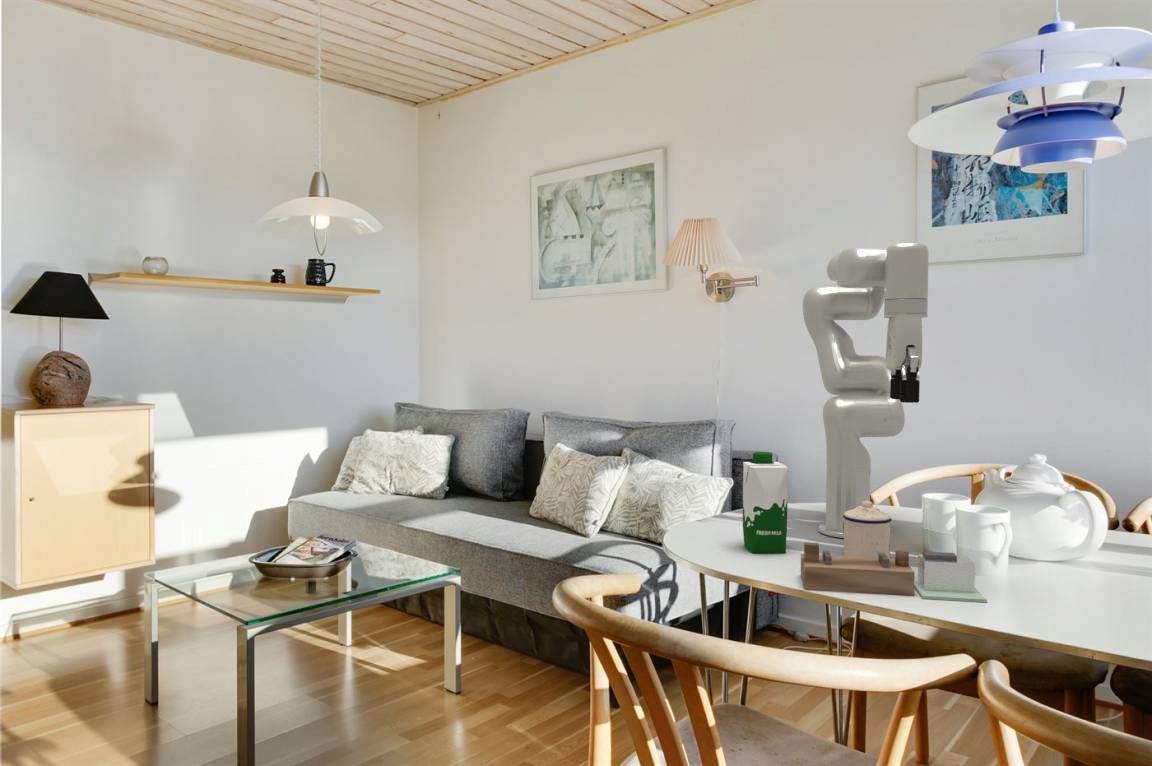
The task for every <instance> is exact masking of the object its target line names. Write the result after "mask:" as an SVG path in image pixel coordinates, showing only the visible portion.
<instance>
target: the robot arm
mask: <svg viewBox="0 0 1152 766" xmlns="http://www.w3.org/2000/svg"><path fill="white" fill-rule="evenodd" d="M929 256H930V255H929V249H928V246H927V245H926V244H924V243H922V242H899V243H894V244H891V245H889V246H887V247H853V248H846V249H843V250H841V251H840V252H837V253H836V254H834V255H833V256H832V257H831V259H830V260H829V261H828V264H827V267H826V272H827V273H826V275H827V276H828V278H829V280H830V281H831V282H832V283H833V284H823V285H818V286H814V287H812V288H810V289H808V290H807V291H806V292H805V294H804V296H803V300H802V315H803V320H804V323H805V324H804V325H805V327H806V330H807V331H808V334H809V336H810V338H811V339H812V341H813V343H814V346H815V349H816V354H817V357H818V358H817V359H818V365H819V369H820V374H821V379H822V382H823V386H824V388H825V390H826V392H828V393H829V394H831V395H832V396H833V397H831V398H828V399H827V401H826V402H824V404H823V407H822V419H823V421H822V422H823V425H824V433H825V443H826V444H825V446H826V448H825V449H826V482H825V483H826V484H825V485H826V489H825V490H826V491H825V492H826V493H825V494H826V497H825V498H826V499H825V503H826V504H825V522H823V523H821V524H819V526H818V531H819V533H821V534H823V535H825V536H829V537H834V538H840V539H844V535H843V532H842V522H843V520H844V518H843V515H844V513H845V512H846V511H848V510H853V509H855V508H856V507H858V506H862V502H863V501H870V502H871V469H872V468H871V461H872V460H871V456H870V455H871V454H870V453H869V451H868V449H867V447H865V445H864V444H863V443H862V442H861V439H860V438H888V437H895V436H897V435H899V434H901V433H902V431H903V428H904V427H905V410H904V406H903V403H908V404H909V403H911V404H913V403H915V404H917V403H919V402H920V382H921V381H920V368H922V361H923V324H922V323H923V322H922V321H923V320H922V318H928V299H929ZM883 304H884V311H883V314H884V316H883V318H884V319H888V323H887V329H886V330H887V331H886V347H885V350H886V351H885V357H883V356H880V355H860V354H857V352H856V350H855V347H854V342H853V339H852V337H851V336H850V335H849V333H848V332H847V331H846V330H845V329H844V328H843V327H842V326H840V325H839V324H837V323H836V322H835V321H868V320H872V319H874V318H875V317H877V315H879V313H880V312H881V309H882V306H883Z"/></svg>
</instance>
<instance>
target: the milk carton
mask: <svg viewBox="0 0 1152 766" xmlns="http://www.w3.org/2000/svg"><path fill="white" fill-rule="evenodd" d="M742 465H743V467H742V469H743V470H742V471H743V473H742V474H743V475H742V476H743V478H742V532H743V533H742V534H743V545H744V547H746V548H747V549H748V551H749V552H751V553H752V554H786V553H787V536H788V535H787V534H788V496H789V495H788V484H789V483H788V480H789V467H788V466H787V465H786V464H784V463H781V462H779V461H773V452H767V451H765V452H764V451H758V452H756V451H755V452H753V453H752V461H743V462H742Z"/></svg>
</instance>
